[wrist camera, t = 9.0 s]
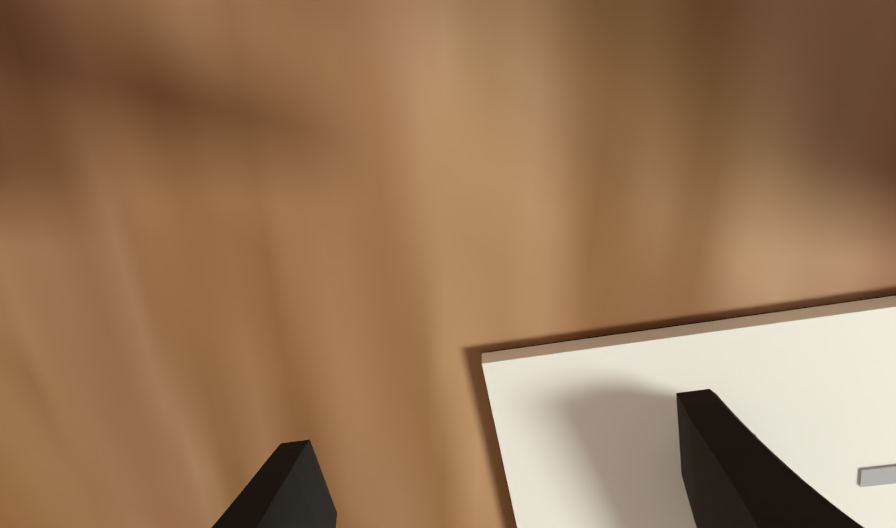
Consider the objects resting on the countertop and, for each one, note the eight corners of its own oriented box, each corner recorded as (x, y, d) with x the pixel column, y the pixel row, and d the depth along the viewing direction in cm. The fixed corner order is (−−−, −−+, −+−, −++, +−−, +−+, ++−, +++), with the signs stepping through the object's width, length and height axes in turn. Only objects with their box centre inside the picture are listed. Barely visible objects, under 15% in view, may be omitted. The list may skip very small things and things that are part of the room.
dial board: (990, 282, 22) (1005, 293, 21) (939, 585, 28) (949, 600, 28) (481, 353, 24) (481, 365, 24) (539, 620, 30) (540, 635, 30)
